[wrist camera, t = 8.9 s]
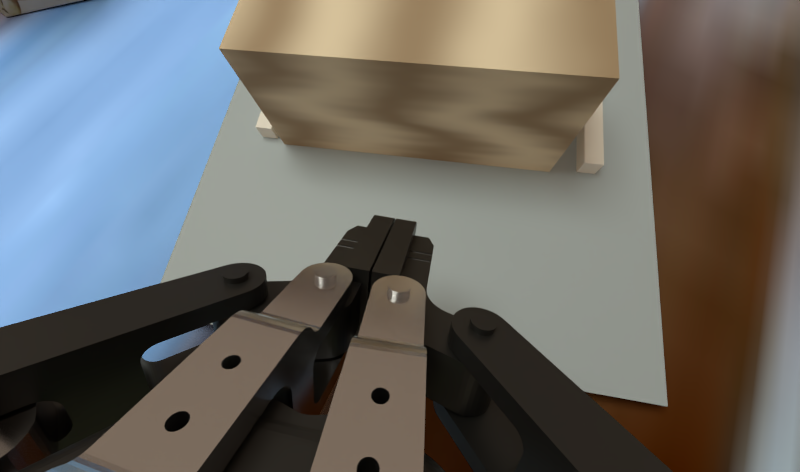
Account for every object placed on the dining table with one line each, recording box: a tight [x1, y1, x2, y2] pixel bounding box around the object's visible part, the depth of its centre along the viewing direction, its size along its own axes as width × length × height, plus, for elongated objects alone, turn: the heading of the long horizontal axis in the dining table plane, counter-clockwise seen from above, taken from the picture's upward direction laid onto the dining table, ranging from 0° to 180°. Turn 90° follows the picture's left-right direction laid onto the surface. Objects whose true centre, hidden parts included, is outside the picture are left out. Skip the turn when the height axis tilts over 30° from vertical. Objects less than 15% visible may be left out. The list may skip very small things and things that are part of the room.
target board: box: [161, 0, 668, 407], centre depth 21 cm, size 26×32×2 cm
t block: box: [219, 0, 620, 172], centre depth 19 cm, size 16×15×7 cm
